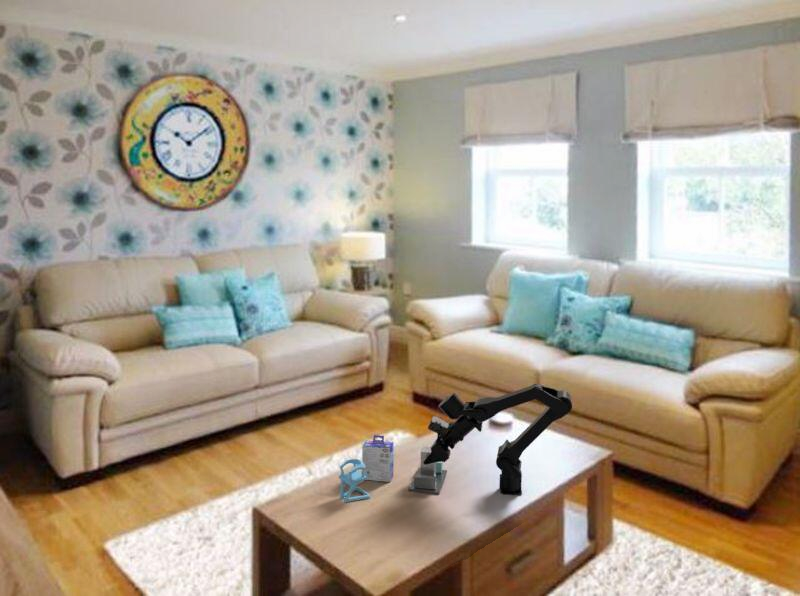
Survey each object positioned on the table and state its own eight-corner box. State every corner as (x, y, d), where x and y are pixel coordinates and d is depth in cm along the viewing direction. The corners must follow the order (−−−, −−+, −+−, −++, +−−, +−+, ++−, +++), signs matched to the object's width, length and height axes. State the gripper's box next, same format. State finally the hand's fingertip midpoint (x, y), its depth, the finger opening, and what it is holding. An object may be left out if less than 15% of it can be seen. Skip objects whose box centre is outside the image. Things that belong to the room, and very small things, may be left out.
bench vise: (418, 469, 225) (418, 457, 225) (447, 472, 223) (447, 459, 222) (408, 491, 210) (408, 477, 209) (439, 494, 208) (439, 481, 207)
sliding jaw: (427, 457, 233) (427, 448, 232) (446, 459, 231) (446, 449, 230) (421, 471, 222) (421, 461, 221) (441, 473, 221) (441, 463, 220)
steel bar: (435, 476, 218) (436, 447, 216) (433, 482, 214) (434, 452, 212) (423, 475, 219) (423, 446, 217) (420, 481, 215) (420, 451, 213)
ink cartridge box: (394, 475, 221) (394, 435, 219) (390, 482, 216) (390, 441, 213) (366, 472, 223) (365, 432, 221) (362, 480, 218) (361, 439, 215)
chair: (335, 496, 207) (334, 461, 205) (357, 488, 212) (356, 454, 210) (348, 505, 201) (347, 469, 199) (370, 497, 206) (370, 462, 204)
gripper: (447, 400, 220) (415, 429, 224) (438, 421, 202) (403, 451, 207) (470, 424, 220) (437, 452, 224) (463, 447, 202) (428, 476, 206)
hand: (426, 457), depth 215 cm, fingers open, 9 cm apart
